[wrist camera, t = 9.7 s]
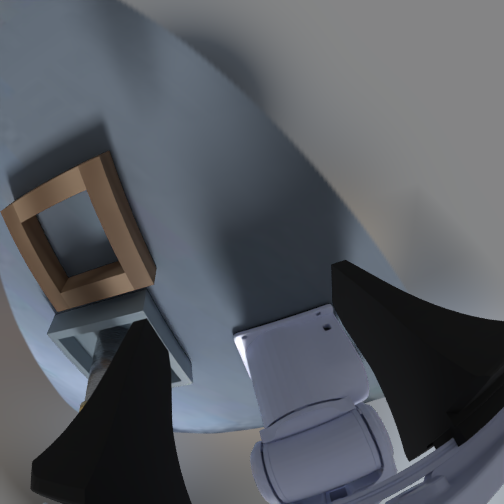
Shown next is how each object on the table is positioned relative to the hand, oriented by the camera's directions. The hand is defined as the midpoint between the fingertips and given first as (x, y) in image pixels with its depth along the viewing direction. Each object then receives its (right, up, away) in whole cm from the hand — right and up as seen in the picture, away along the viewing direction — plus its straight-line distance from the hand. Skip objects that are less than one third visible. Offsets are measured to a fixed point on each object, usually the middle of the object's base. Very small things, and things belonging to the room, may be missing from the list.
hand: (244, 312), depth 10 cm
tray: (-12, -6, +12) cm, 18 cm away
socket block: (-12, +4, +6) cm, 14 cm away
